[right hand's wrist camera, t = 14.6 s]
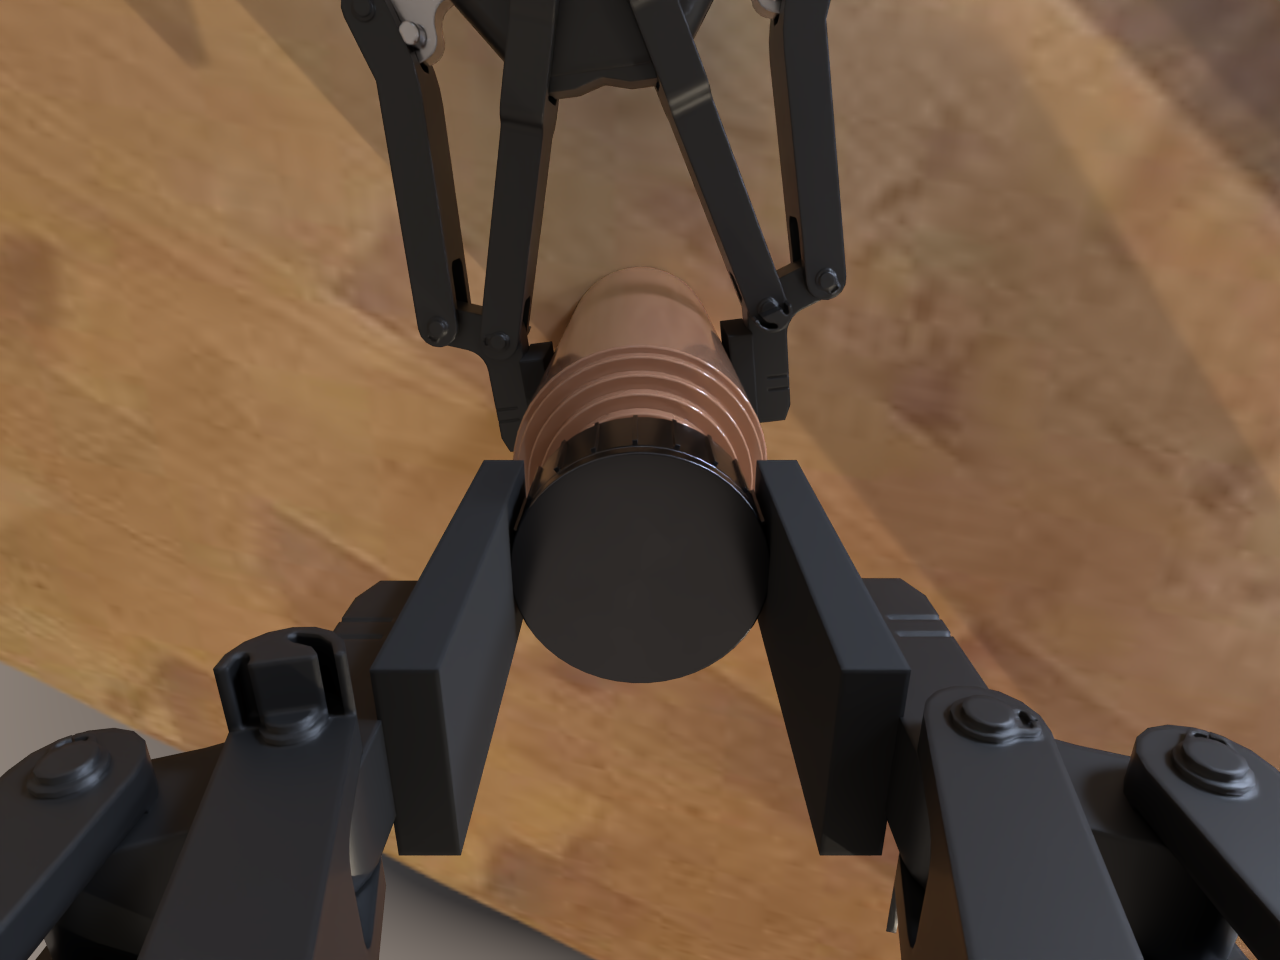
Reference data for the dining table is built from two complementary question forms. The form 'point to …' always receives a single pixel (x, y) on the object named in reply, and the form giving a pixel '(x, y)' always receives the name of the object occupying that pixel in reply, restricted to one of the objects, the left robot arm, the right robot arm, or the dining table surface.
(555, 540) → the cap
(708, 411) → the bottle
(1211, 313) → the dining table surface
